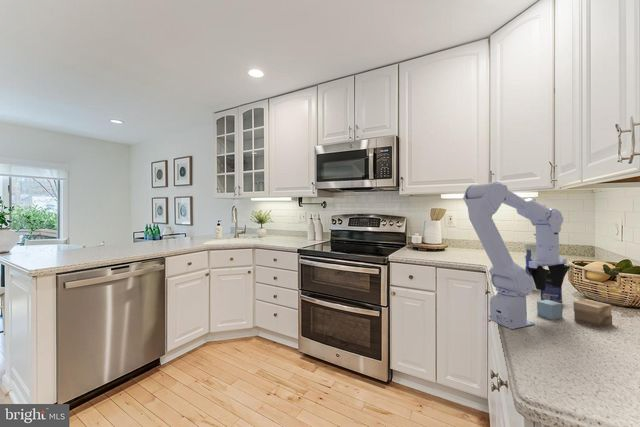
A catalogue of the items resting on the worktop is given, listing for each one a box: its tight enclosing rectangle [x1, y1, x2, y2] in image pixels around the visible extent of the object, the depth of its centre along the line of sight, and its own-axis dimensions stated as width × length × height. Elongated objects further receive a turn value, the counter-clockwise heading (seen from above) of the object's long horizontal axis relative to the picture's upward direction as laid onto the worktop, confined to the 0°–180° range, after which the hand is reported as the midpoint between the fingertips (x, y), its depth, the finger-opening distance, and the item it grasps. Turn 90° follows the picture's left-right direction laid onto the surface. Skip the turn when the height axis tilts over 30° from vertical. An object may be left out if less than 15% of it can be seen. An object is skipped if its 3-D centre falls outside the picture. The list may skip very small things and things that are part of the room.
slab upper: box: [572, 298, 613, 318], centre depth 84 cm, size 6×6×3 cm
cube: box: [536, 299, 563, 321], centre depth 89 cm, size 4×4×4 cm
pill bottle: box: [539, 271, 563, 304], centre depth 103 cm, size 6×6×11 cm
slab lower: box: [573, 310, 613, 329], centre depth 84 cm, size 6×6×3 cm
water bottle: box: [522, 233, 546, 292], centre depth 120 cm, size 8×9×25 cm
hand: (548, 288), depth 89 cm, fingers open, 7 cm apart
